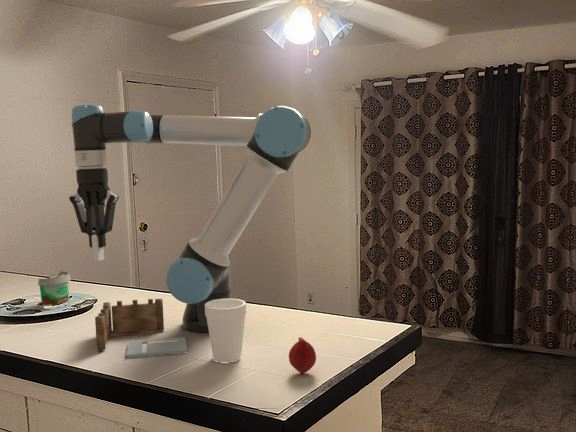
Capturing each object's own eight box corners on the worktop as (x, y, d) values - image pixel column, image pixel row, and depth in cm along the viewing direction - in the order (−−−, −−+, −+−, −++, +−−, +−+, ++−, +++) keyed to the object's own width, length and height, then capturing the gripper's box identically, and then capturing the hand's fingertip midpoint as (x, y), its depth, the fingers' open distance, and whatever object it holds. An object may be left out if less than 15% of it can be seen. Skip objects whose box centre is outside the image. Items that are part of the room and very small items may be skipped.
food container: (58, 311, 178) (55, 279, 177) (39, 311, 180) (37, 279, 179) (80, 301, 190) (78, 271, 189) (62, 300, 192) (61, 270, 191)
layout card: (185, 340, 149) (185, 336, 149) (186, 353, 140) (186, 349, 140) (129, 344, 147) (129, 340, 147) (126, 358, 137) (126, 354, 137)
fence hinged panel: (103, 334, 154) (102, 303, 153) (111, 333, 154) (110, 303, 153) (96, 350, 141) (94, 317, 140) (104, 350, 141) (103, 317, 140)
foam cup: (227, 348, 142) (225, 296, 141) (255, 357, 136) (254, 302, 135) (198, 360, 135) (196, 305, 133) (226, 369, 129) (224, 311, 127)
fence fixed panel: (164, 327, 160) (162, 296, 159) (163, 332, 156) (162, 300, 155) (105, 332, 157) (104, 300, 156) (104, 336, 153) (102, 304, 152)
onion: (315, 368, 129) (314, 332, 128) (317, 378, 123) (316, 341, 122) (288, 368, 128) (287, 333, 128) (289, 379, 123) (288, 342, 122)
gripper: (59, 169, 145) (67, 262, 148) (106, 167, 142) (114, 263, 145) (77, 168, 153) (84, 257, 155) (122, 166, 150) (129, 257, 152)
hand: (98, 260), depth 150 cm, fingers closed
